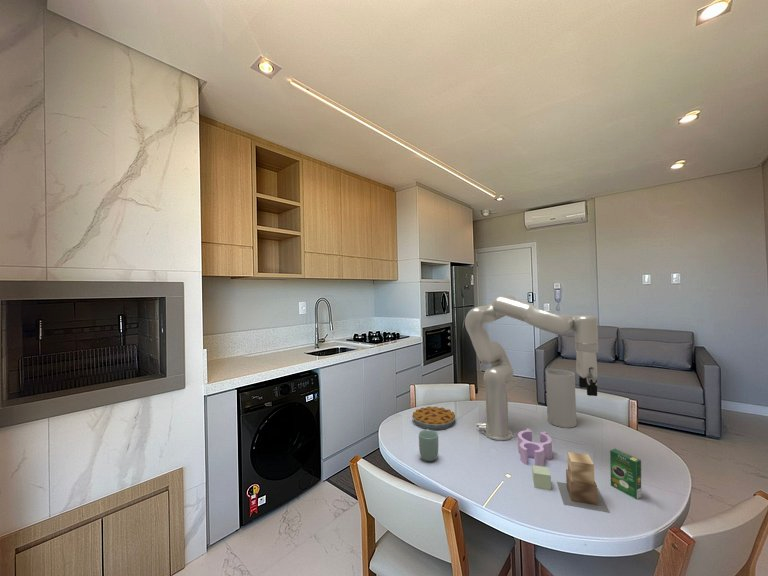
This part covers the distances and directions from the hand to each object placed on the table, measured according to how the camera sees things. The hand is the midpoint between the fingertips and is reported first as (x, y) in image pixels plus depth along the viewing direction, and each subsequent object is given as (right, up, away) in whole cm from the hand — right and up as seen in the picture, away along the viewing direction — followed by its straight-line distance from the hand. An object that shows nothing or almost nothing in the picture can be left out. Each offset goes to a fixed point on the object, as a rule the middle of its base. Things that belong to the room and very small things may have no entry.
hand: (587, 391), depth 121 cm
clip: (-19, -28, +4) cm, 34 cm away
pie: (-53, -29, +40) cm, 73 cm away
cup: (-61, -29, +5) cm, 68 cm away
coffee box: (-1, -27, -20) cm, 34 cm away
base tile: (-16, -27, -22) cm, 39 cm away
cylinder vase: (+9, -27, +34) cm, 45 cm away
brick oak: (-17, -20, -22) cm, 34 cm away
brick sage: (-26, -28, -16) cm, 41 cm away
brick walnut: (-17, -26, -22) cm, 38 cm away
